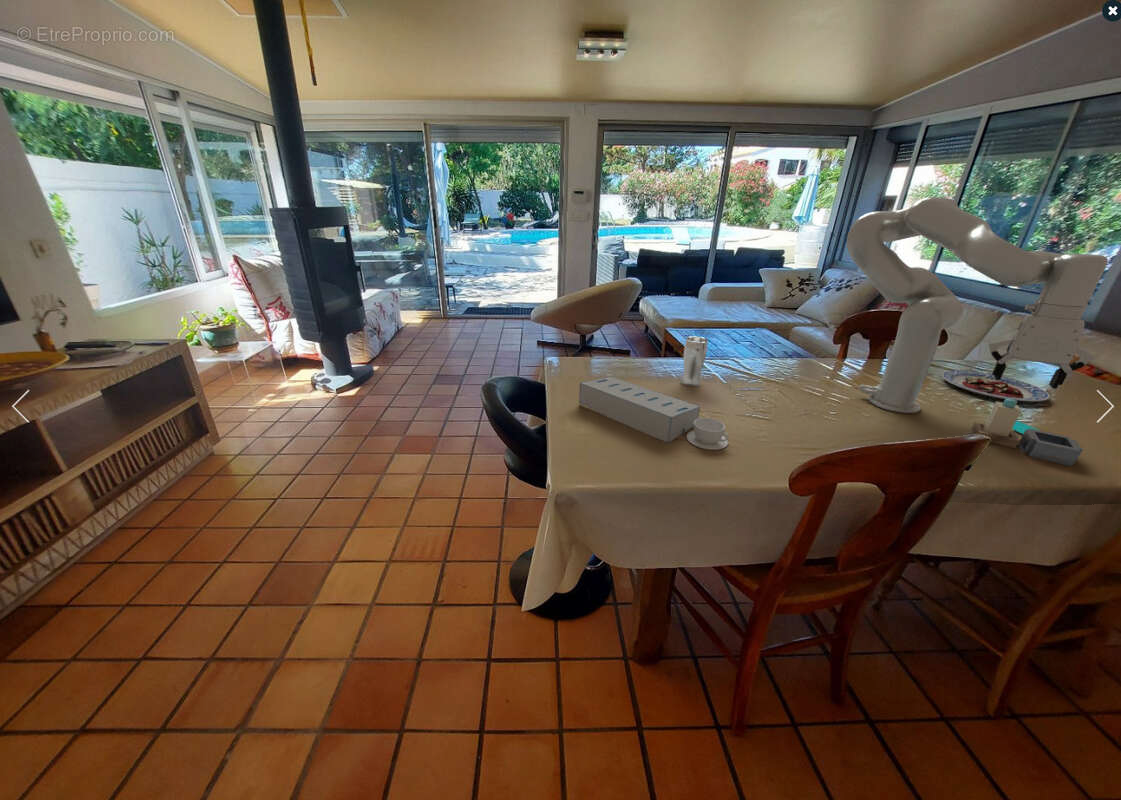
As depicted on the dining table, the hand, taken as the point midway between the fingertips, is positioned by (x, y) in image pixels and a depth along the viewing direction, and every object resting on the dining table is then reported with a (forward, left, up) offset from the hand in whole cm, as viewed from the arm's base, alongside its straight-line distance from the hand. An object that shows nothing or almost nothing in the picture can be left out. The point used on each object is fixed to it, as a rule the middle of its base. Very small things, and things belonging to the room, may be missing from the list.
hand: (1023, 382), depth 102 cm
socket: (+8, -3, -16) cm, 18 cm away
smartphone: (+8, +10, -16) cm, 21 cm away
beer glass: (-77, -12, -16) cm, 79 cm away
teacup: (-59, -47, -16) cm, 77 cm away
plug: (-1, 0, -16) cm, 16 cm away
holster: (-1, 0, -16) cm, 16 cm away
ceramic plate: (+4, +44, -16) cm, 47 cm away
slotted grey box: (-80, -44, -16) cm, 93 cm away
